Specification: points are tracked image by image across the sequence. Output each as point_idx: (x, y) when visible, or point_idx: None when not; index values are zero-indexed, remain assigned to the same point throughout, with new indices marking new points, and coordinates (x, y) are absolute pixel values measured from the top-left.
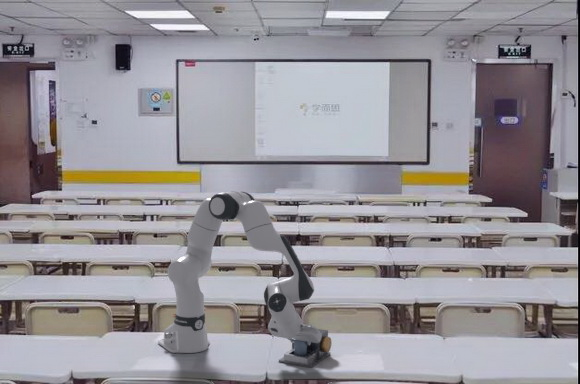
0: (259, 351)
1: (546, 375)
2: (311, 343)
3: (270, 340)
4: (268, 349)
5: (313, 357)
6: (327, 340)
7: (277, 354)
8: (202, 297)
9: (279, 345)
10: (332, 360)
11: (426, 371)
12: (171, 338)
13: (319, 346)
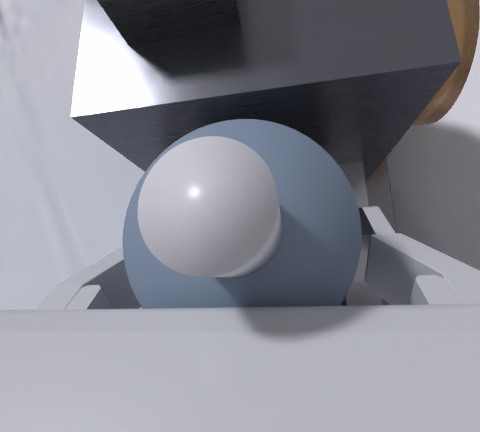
0: (6, 227)
1: None
2: (315, 139)
3: (5, 66)
4: (36, 176)
5: None
6: (466, 34)
7: (102, 219)
8: None
9: (63, 97)
10: (435, 136)
11: None
12: None
13: (399, 139)
